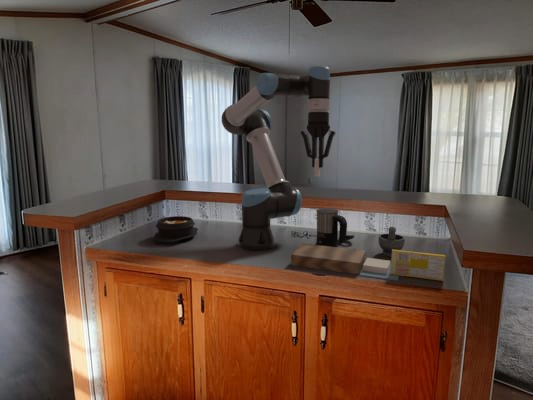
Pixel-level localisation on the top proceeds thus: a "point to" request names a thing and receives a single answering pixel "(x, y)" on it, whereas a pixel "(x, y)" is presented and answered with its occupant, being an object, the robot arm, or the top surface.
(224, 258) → the top surface
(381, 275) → the mat
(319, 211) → the milk frother
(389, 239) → the mortar and pestle
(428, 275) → the candy box
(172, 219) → the casserole
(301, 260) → the panel
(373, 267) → the tile
